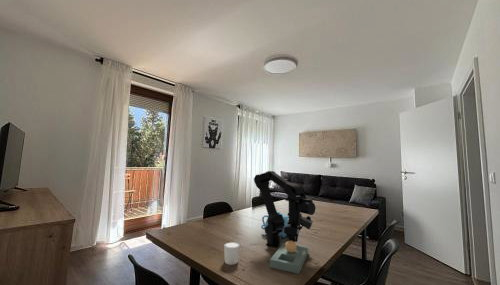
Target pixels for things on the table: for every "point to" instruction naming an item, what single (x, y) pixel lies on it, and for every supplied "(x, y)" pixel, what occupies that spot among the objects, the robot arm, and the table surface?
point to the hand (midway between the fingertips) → (294, 244)
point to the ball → (290, 246)
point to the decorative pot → (284, 223)
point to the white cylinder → (231, 252)
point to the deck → (289, 259)
